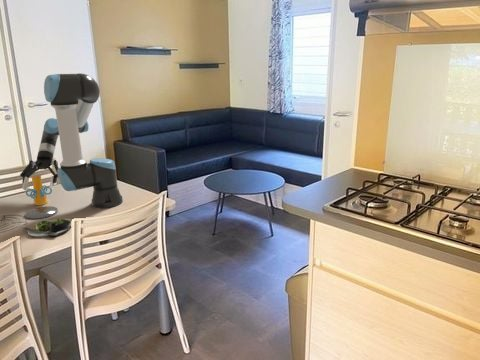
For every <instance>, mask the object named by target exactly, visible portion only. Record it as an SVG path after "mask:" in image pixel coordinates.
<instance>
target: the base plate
mask: <svg viewBox="0 0 480 360" xmlns="http://www.w3.org/2000/svg"><path fill="white" fill-rule="evenodd" d="M58 212H59V211H58V207H55V206H51V205H50V206H49V205H48V206H38V207H36V208H32V209H30V210H28V211H26V212H25V214H24V215H25V218H26V219H28V220H40V219H47V218H49V217H50V218H51V217H52V216H55V215H57V213H58Z"/></svg>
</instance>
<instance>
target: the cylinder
mask: <svg viewBox="0 0 480 360" xmlns="http://www.w3.org/2000/svg"><path fill="white" fill-rule="evenodd" d="M31 181H32V185H33V188H27V189H26V190H25V194H26V195H25V196H27V197H30V198H31V199H33V203H34V205H35V206H44V205H46V204H48V197H47V195H48V196H49V195H51V194H52V193H53V190H51V189H50V188H49V187H50V186H47V185H45V184H43V181H42V175H41V174H32V175H31ZM48 189H49V190H50V192H48ZM29 191H30V194H29V193H28V192H29Z"/></svg>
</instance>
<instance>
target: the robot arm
mask: <svg viewBox="0 0 480 360" xmlns="http://www.w3.org/2000/svg"><path fill="white" fill-rule="evenodd" d="M43 83H44V84H43V93H44V98H45V101H46V102H48V103H50V106H51V107H52V108H54V111H55V118H54V117H50V118H47V120H46V121H44V125H43V130H42V135H41V141H40V144H39V148H38V152H37V155H36V160H35V161H34V160H32V159H31V160H29V163H28V164H27V166H26V167H25V168H24V169H23V170H22V171H21V173H20V174H19V176H20V177H21V178H22V187H21V188H22V189H23V190H24V191H26V190H27V189H28V185H29V180H30V178H29V177H32V176H33V175H34V174H35V173H37V171H39V170H41V171H42V170H49V172H50V173H51V174H52V175H51V178H50V182H49V183H50V184H49V186H48V187H49V188H50V189H51V190H52V191H53V190H54V186H55V184H56V183H57V180H58V181H59V183H60V185H61V187H62V188H63V190H65V191H67V192H74V191H79V190H83V189H88V188H92V187H93V191H92V198H91V206H92V207H94V208H99V209H107V208H108V209H109V208H113V207H117V206H119V205H121V204H122V203H123V202H124V199H123V195H121V192H120V190H119V187H118V179H117V168H116V164H115V161H114V160H113V159H109V158H100V157H99V158H92V159H90V160H89V163H87V160H86V159H84V158H83V151H82V145H81V137H80V134H83V133H87V132H88V131H89V128H90V127H89V122H88V118H89V116H90V113H91V111H92V109H93V106H94V104H95V103H97V101H98V100H99V98H100V96H101V95H100V93H101V91H100V86H99V84H98V82H97V81H96V80H95V79H94V78H93V76H90V75H88V74H86V73H57V74H56V73H55V74H48V75H47V76H46V77H45V79H44V82H43ZM58 137H59V142H60V148H61V154H62V155H61V156H62V161H61V162H60V164H59V162H58V160H56V159H54V155H55V149H56V145H57V142H58ZM53 159H54V160H53ZM52 165H53V167H54V169H55V171H54V170H53V169H52ZM59 165H60V166H59ZM49 188H48V189H49ZM50 189H49V190H50ZM51 190H50V191H51Z"/></svg>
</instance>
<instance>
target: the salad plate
mask: <svg viewBox="0 0 480 360" xmlns="http://www.w3.org/2000/svg"><path fill="white" fill-rule="evenodd" d="M71 220H72V219H71V218H58V219H46V220H41V221H39V222H37V223H34V225H33V227H32V228H28V227H24V228H22V231H25V232H27V234H28V235H29V236H31V237H34V238H44V237H45V238H46V237H48V238H49V237H50V238H52V237H58V236H61V235H64V234H66V233H67V232H69V231H70V230H71V229H72V227H71Z"/></svg>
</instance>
